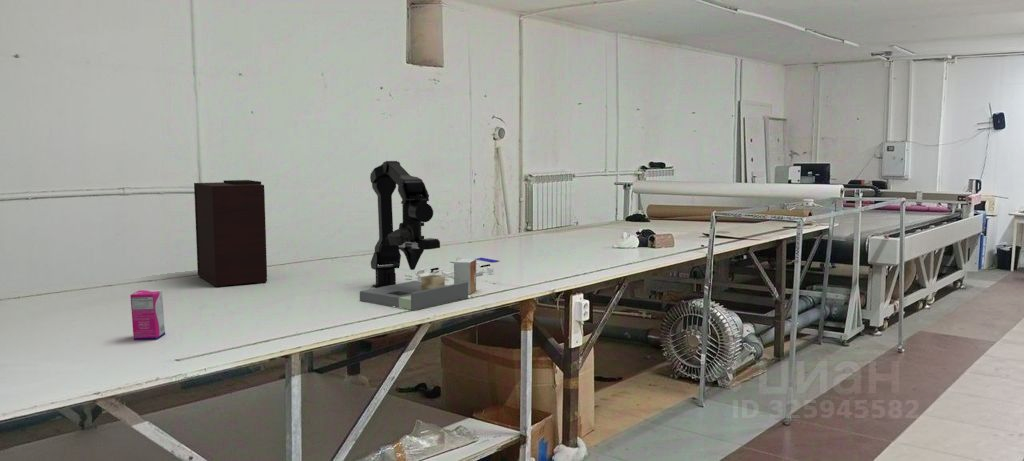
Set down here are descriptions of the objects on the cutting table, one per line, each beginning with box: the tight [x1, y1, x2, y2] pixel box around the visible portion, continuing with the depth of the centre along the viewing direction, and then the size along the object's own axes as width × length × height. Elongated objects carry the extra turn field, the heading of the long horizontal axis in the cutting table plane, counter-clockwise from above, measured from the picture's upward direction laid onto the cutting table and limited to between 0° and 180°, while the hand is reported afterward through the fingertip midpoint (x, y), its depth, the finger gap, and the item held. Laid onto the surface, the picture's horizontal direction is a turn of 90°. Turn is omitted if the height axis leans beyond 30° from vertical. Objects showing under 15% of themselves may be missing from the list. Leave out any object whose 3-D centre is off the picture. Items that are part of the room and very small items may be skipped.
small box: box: [453, 258, 477, 295], centre depth 251 cm, size 8×6×10 cm
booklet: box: [450, 257, 499, 264], centre depth 316 cm, size 12×25×1 cm, turn 130°
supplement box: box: [129, 289, 166, 341], centre depth 190 cm, size 6×6×12 cm
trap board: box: [359, 280, 469, 311], centre depth 239 cm, size 23×24×5 cm
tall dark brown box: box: [193, 179, 268, 288], centre depth 272 cm, size 19×27×35 cm
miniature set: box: [404, 257, 495, 281], centre depth 282 cm, size 6×35×12 cm
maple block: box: [421, 274, 446, 291], centre depth 234 cm, size 5×5×5 cm
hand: (412, 269), depth 238 cm, fingers closed
